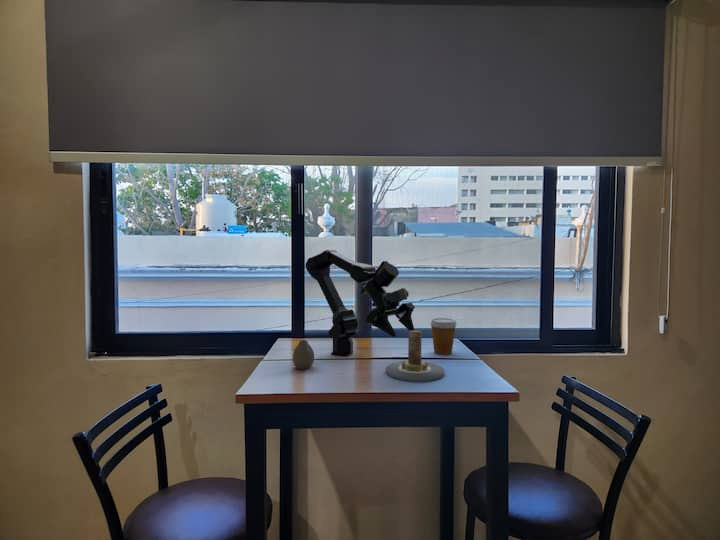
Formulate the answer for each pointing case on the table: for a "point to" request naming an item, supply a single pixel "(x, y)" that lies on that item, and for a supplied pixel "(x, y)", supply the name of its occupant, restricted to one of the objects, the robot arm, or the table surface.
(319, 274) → the robot arm
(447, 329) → the disposable coffee cup
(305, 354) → the vase
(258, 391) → the table surface
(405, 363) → the gear
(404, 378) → the disc
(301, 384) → the table surface
